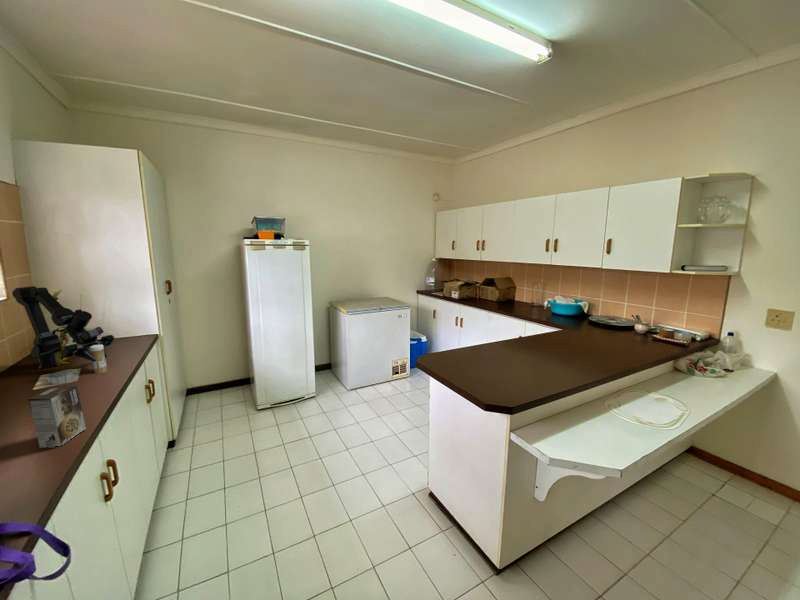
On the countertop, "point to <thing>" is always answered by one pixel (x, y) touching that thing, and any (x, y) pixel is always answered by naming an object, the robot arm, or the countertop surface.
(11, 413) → the countertop surface
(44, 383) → the birch board
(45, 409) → the coffee box
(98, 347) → the sprinkles bottle
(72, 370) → the steel collar
